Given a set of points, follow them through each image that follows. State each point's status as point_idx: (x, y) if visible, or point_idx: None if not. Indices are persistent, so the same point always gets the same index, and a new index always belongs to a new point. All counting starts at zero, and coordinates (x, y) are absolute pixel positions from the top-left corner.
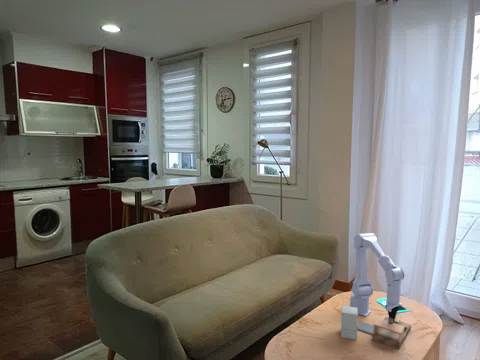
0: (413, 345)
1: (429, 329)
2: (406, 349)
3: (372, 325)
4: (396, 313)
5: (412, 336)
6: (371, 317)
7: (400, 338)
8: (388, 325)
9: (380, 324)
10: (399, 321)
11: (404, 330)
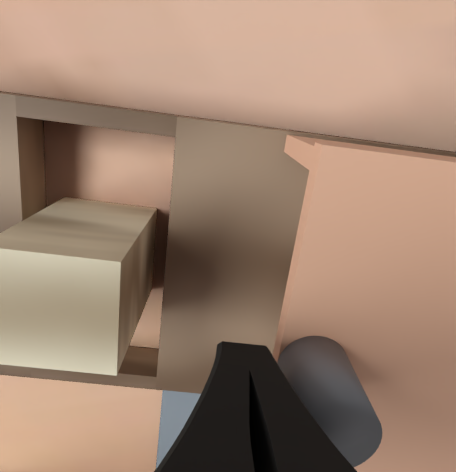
0: (324, 13)
1: None
2: (445, 82)
3: (170, 424)
4: (215, 438)
5: (117, 44)
6: (8, 446)
7: None
8: (409, 380)
9: (423, 465)
10: (41, 240)
11: (43, 147)
